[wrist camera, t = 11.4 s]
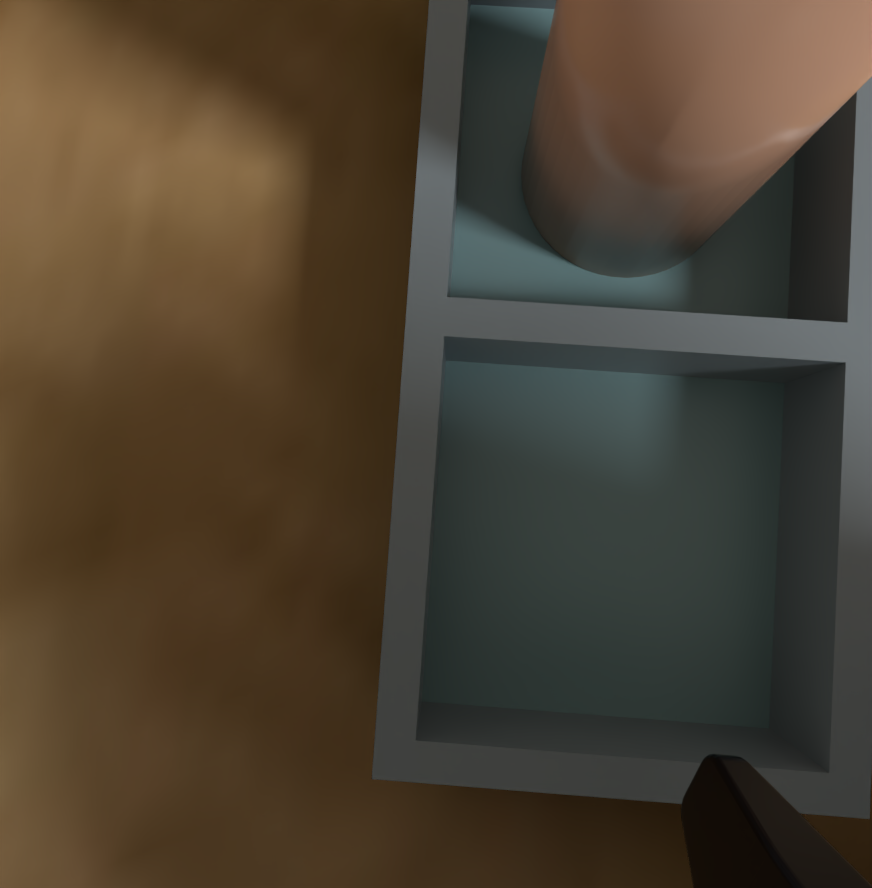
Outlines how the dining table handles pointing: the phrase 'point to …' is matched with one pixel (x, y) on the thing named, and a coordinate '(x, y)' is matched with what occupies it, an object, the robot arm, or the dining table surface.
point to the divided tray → (626, 471)
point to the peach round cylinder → (677, 117)
